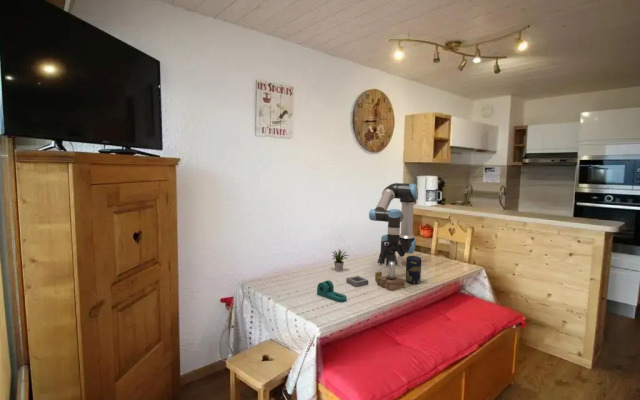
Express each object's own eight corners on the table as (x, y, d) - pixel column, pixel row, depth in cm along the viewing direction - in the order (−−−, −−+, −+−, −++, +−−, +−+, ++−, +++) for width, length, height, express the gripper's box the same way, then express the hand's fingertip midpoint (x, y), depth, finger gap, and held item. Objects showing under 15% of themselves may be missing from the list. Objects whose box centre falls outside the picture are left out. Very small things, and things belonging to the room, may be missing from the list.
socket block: (377, 284, 210) (377, 277, 210) (390, 282, 217) (391, 274, 216) (390, 291, 200) (391, 283, 200) (404, 287, 206) (405, 280, 206)
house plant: (337, 275, 228) (338, 251, 226) (324, 270, 238) (325, 248, 237) (351, 271, 237) (352, 249, 236) (338, 266, 247) (339, 245, 246)
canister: (420, 281, 221) (422, 254, 219) (419, 285, 212) (421, 258, 210) (405, 279, 224) (407, 253, 222) (404, 283, 215) (406, 256, 213)
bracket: (316, 294, 190) (317, 281, 190) (324, 291, 195) (325, 279, 195) (341, 303, 179) (342, 289, 178) (348, 300, 184) (349, 286, 183)
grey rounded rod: (386, 285, 209) (387, 261, 208) (390, 284, 211) (392, 260, 210) (390, 287, 206) (392, 262, 204) (395, 286, 208) (396, 262, 206)
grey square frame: (346, 282, 213) (346, 278, 213) (358, 280, 218) (358, 275, 218) (355, 287, 204) (356, 282, 204) (368, 284, 210) (368, 280, 210)
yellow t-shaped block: (374, 280, 217) (375, 272, 217) (379, 279, 220) (380, 271, 219) (385, 284, 209) (385, 276, 209) (390, 283, 212) (390, 275, 211)
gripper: (383, 236, 196) (381, 271, 197) (411, 233, 209) (410, 266, 211) (374, 234, 202) (372, 268, 203) (403, 231, 215) (401, 263, 217)
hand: (391, 267), depth 207 cm, fingers open, 13 cm apart
